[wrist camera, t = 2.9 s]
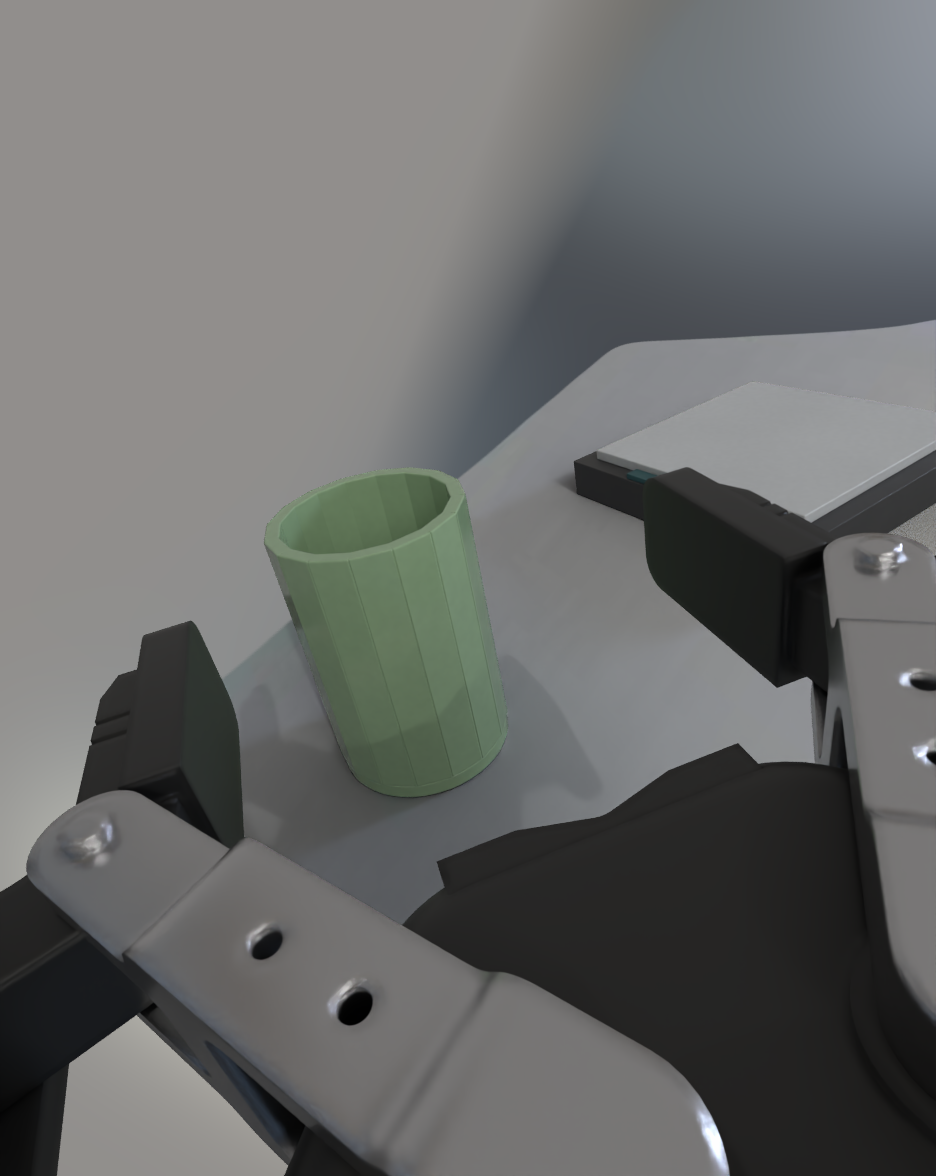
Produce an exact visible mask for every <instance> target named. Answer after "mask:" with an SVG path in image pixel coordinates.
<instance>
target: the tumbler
mask: <svg viewBox="0 0 936 1176" xmlns="http://www.w3.org/2000/svg"><path fill="white" fill-rule="evenodd" d="M264 545H265V547H266V550H267V553H268V556H269V558H270V561H271V563H272V566H273V569H274V571H275V574H276V577H277V580H278V582H279V585H280V588H281V591H282V593H283V596H284V599H285V601H286V604H287V607H288V609H289V612H290V615H291V617H292V620H293V623H294V626H295V628H296V631H297V634H298V636H299V639H300V642H301V644H302V647H303V650H304V653H305V655H306V658H307V661H308V663H309V666H310V669H311V671H312V674H313V677H314V679H315V682H316V685H317V688H318V690H319V693H320V696H321V698H322V701H323V704H324V706H325V709H326V712H327V715H328V717H329V720H330V723H331V725H332V728H333V731H334V733H335V736H336V739H337V741H338V744H339V747H340V750H341V752H342V755H343V756H344V758H345V759H346V761H347V764H348V767H349V769H350V770H351V772H352V774H353V775H354V776H355V777H356V778H357V779H358V780H359V781H360V782H361V783H362V784H364V785H365V786H366V787H368V788H370V789H372V790H374V791H377V792H379V793H382V794H386V795H390V796H397V797H420V796H428V795H433V794H437V793H441V792H444V791H447V790H450V789H452V788H455V787H457V786H459V785H461V784H463V783H465V782H467V781H468V780H470V779H472V778H473V777H475V776H476V775H478V774H479V773H480V772H481V771H483V770H484V769H485V768H486V767H487V766H488V765H489V764H490V763H491V762H492V761H493V760H494V759H495V757H496V756H497V754H498V753H499V751H500V750H501V748H502V746H503V744H504V742H505V738H506V735H507V730H508V717H507V706H506V701H505V696H504V691H503V685H502V680H501V675H500V670H499V665H498V660H497V655H496V649H495V644H494V639H493V634H492V629H491V624H490V619H489V613H488V608H487V603H486V598H485V593H484V588H483V583H482V577H481V572H480V567H479V562H478V557H477V552H476V547H475V541H474V536H473V531H472V526H471V521H470V516H469V511H468V505H467V500H466V495H465V493H464V490H463V488H462V486H461V484H460V482H459V480H458V479H456V478H454V477H452V476H449V475H447V474H445V473H443V472H441V471H438V470H429V469H419V468H397V469H386V470H377V471H372V472H367V473H363V474H359V475H355V476H350V477H346V478H343V479H339V480H337V481H335V482H332V483H329V484H327V485H325V486H322V487H319V488H317V489H314V490H311V491H310V492H307V493H306V494H304V495H302V496H301V497H299V498H298V499H296V500H294V501H293V502H291V503H289V504H288V505H286V506H284V507H283V508H282V509H281V510H280V511H279V512H278V513H277V514H276V515H275V516H274V518H273V519H272V520H271V521H270V522H269V523H268V524H267V526H266V532H265V538H264Z"/></svg>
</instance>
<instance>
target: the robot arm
mask: <svg viewBox="0 0 936 1176" xmlns="http://www.w3.org/2000/svg"><path fill="white" fill-rule="evenodd" d="M643 511H644V528H645V545H646V558H647V564H648V567H649V570H650V573H651V575H652V577H653V579H654V581H655V582H656V584H657V585H658V586H659V587H660V588H661V589H662V590H663V591H664V592H665V593H666V594H668V595H669V596H670V597H671V598H672V599H673V600H675V601H676V602H677V603H678V604H679V605H681V606H682V607H683V608H684V609H685V610H686V611H688V612H689V613H690V614H691V615H692V616H693V617H695V618H696V619H697V620H698V621H699V622H700V623H702V624H703V625H704V626H705V627H706V628H708V629H709V630H710V631H711V632H712V633H713V634H715V635H716V636H717V637H718V638H719V639H720V640H722V641H723V642H724V643H725V644H726V645H727V646H729V647H730V648H731V649H732V650H733V651H735V652H736V653H737V654H738V655H739V656H740V657H742V658H743V659H744V660H745V661H746V662H747V663H749V664H750V665H751V666H752V667H753V668H754V669H756V670H757V671H758V672H759V673H760V674H762V675H763V676H764V677H765V678H766V679H767V680H769V681H770V682H771V683H772V684H773V685H774V686H776V687H777V688H778V687H781V686H783V685H786V684H788V683H791V682H794V681H796V680H799V679H801V678H804V677H808V678H810V679H811V680H812V688H811V713H812V728H813V743H814V757H815V763H807V762H770V763H761V764H758V763H757V762H756V761H755V760H754V759H753V758H752V757H751V756H750V755H749V754H748V753H747V752H746V751H745V750H744V749H743V748H742V747H741V746H740V745H739V744H738V743H737V744H735V745H732V746H729V747H727V748H724V749H722V750H719V751H717V752H714V753H712V754H709V755H707V756H704V757H701V758H699V759H696V760H694V761H691V762H689V763H686V764H684V765H681V766H679V767H676V768H674V769H671V770H668V771H667V772H666V773H664V774H663V775H661V776H660V777H659V778H657V779H656V780H654V781H653V782H651V783H650V784H649V785H647V786H646V787H644V788H643V789H642V790H640V791H639V792H637V793H636V794H635V795H633V796H632V797H630V798H629V799H628V800H626V801H625V802H623V803H622V804H620V805H619V806H618V807H616V808H615V809H613V810H612V811H611V812H609V813H607V814H605V815H603V816H600V817H596V818H591V819H585V820H579V821H572V822H566V823H560V824H554V825H548V826H542V827H536V828H530V829H523V830H517V831H514V832H511V833H508V834H506V835H503V836H501V837H498V838H496V839H493V840H491V841H488V842H486V843H483V844H480V845H478V846H475V847H473V848H470V849H468V850H465V851H463V852H460V853H458V854H455V855H453V856H450V857H447V858H445V859H442V860H440V861H437V864H438V868H439V871H440V874H441V877H442V880H443V884H444V887H445V888H443V889H442V890H440V891H439V892H438V893H436V894H435V895H433V896H432V897H431V898H429V899H428V900H427V901H426V902H425V903H424V904H423V905H421V906H420V907H419V908H418V909H417V910H416V911H415V912H414V913H413V914H412V915H411V916H410V917H409V918H408V919H407V920H406V921H405V922H404V924H403V925H400V924H399V923H397V922H395V921H394V920H392V919H390V918H388V917H387V916H385V915H383V914H382V913H380V912H378V911H377V910H375V909H373V908H371V907H370V906H368V905H366V904H365V903H363V902H361V901H359V900H358V899H356V898H354V897H353V896H351V895H349V894H348V893H346V892H344V891H342V890H341V889H339V888H337V887H336V886H334V885H332V884H330V883H329V882H327V881H325V880H324V879H322V878H320V877H318V876H317V875H315V874H313V873H312V872H310V871H308V870H307V869H305V868H303V867H301V866H300V865H298V864H296V863H295V862H293V861H291V860H289V859H288V858H286V857H284V856H283V855H281V854H279V853H278V852H276V851H274V850H272V849H271V848H269V847H267V846H266V845H264V844H262V843H260V842H259V841H257V840H255V839H252V838H249V837H244V830H243V809H242V788H241V767H240V746H239V729H238V723H237V719H236V715H235V711H234V708H233V705H232V702H231V699H230V697H229V694H228V692H227V690H226V688H225V686H224V684H223V681H222V679H221V677H220V675H219V673H218V671H217V668H216V666H215V664H214V662H213V660H212V658H211V655H210V653H209V651H208V649H207V647H206V645H205V643H204V641H203V638H202V636H201V634H200V632H199V630H198V628H197V627H196V625H195V624H194V623H193V622H192V621H188V622H185V623H181V624H178V625H175V626H172V627H169V628H165V629H162V630H159V631H156V632H153V633H150V634H146V635H144V636H143V638H142V644H141V649H140V656H139V662H138V668H137V670H134V671H131V672H127V673H125V674H121V675H118V677H117V678H116V679H115V681H114V682H113V684H112V685H111V686H110V687H109V689H108V690H107V691H106V693H105V694H104V695H103V696H102V698H101V699H100V703H99V707H98V711H97V716H96V720H95V723H96V726H95V727H94V729H93V733H92V738H91V743H92V745H91V746H89V751H88V755H87V759H86V764H85V768H84V773H83V777H82V781H81V785H80V789H79V794H78V798H77V802H76V806H74V807H72V808H71V809H69V810H68V811H66V812H65V813H63V814H62V815H61V816H60V817H58V818H57V819H56V820H55V821H54V822H53V823H51V824H50V826H48V827H47V828H46V830H45V831H44V832H43V833H42V834H41V835H40V837H39V838H38V839H37V841H36V842H35V844H34V846H33V847H32V849H31V851H30V854H29V856H28V860H27V868H26V869H27V875H26V876H25V877H23V878H22V879H21V880H19V881H17V882H16V883H14V884H13V885H12V886H10V887H8V888H6V889H5V890H3V891H1V892H0V1176H57V1168H58V1159H59V1150H60V1141H61V1132H62V1123H63V1114H64V1104H65V1096H66V1087H67V1077H68V1068H69V1063H70V1062H72V1061H73V1060H75V1059H76V1058H77V1057H79V1056H80V1055H81V1054H83V1053H84V1052H86V1051H87V1050H88V1049H90V1048H91V1047H92V1046H94V1045H95V1044H97V1043H98V1042H99V1041H101V1040H102V1039H104V1038H105V1037H106V1036H108V1035H109V1034H111V1033H112V1032H113V1031H115V1030H116V1029H117V1028H119V1027H120V1026H122V1025H123V1024H125V1023H126V1022H127V1021H129V1020H130V1019H131V1018H133V1017H134V1016H135V1015H137V1016H138V1017H139V1018H140V1019H141V1020H142V1021H143V1022H144V1023H145V1024H146V1025H148V1026H149V1027H150V1028H151V1029H152V1030H153V1031H154V1032H155V1033H156V1034H157V1035H158V1036H159V1037H160V1038H161V1039H162V1040H163V1041H164V1042H165V1043H167V1044H168V1045H169V1046H170V1047H171V1048H172V1049H173V1050H174V1051H175V1052H176V1053H177V1054H178V1055H179V1056H180V1057H181V1058H182V1059H183V1060H184V1061H185V1062H187V1063H188V1064H189V1065H190V1066H191V1067H192V1068H193V1069H194V1070H195V1071H196V1072H197V1073H198V1074H199V1075H200V1076H201V1077H203V1078H204V1079H205V1080H206V1081H207V1082H208V1083H209V1084H210V1085H211V1086H212V1087H213V1088H214V1089H215V1090H216V1091H217V1092H218V1093H219V1094H220V1095H221V1096H222V1097H223V1098H224V1099H225V1100H226V1101H227V1102H228V1103H229V1104H230V1105H231V1106H232V1107H233V1108H234V1109H235V1110H236V1111H237V1112H238V1113H239V1115H240V1116H241V1117H242V1118H243V1119H244V1120H245V1121H246V1123H247V1124H248V1125H249V1126H250V1127H251V1128H252V1129H253V1130H254V1131H255V1133H256V1134H257V1135H258V1136H259V1137H260V1138H261V1139H262V1140H263V1141H264V1142H265V1143H266V1144H267V1145H268V1146H269V1147H270V1148H271V1149H272V1150H273V1151H274V1152H275V1153H276V1154H277V1155H278V1156H279V1157H280V1158H281V1159H282V1160H283V1161H284V1162H285V1163H286V1164H287V1165H288V1168H287V1170H286V1173H285V1175H284V1176H936V556H934V555H933V553H932V552H931V551H930V550H929V549H928V548H927V547H926V546H924V545H923V544H921V543H919V542H917V541H914V540H912V539H909V538H906V537H902V536H898V535H893V534H885V533H859V534H852V535H848V536H844V537H841V538H839V537H837V536H836V535H834V534H832V533H830V532H828V531H826V530H824V529H822V528H820V527H818V526H817V525H815V524H813V523H811V522H809V521H807V520H805V519H803V518H801V517H799V516H798V515H796V514H794V513H788V511H787V510H786V509H784V508H782V507H780V506H779V505H777V504H775V503H774V504H771V503H770V501H769V500H767V499H765V498H763V497H762V496H760V495H758V494H756V493H754V492H752V491H750V490H747V489H742V488H738V487H733V486H729V485H725V484H719V483H717V482H716V481H714V480H712V479H710V478H708V477H706V476H705V475H703V474H701V473H699V472H697V471H695V470H694V469H692V468H689V467H684V468H681V469H678V470H675V471H671V472H668V473H665V474H662V475H659V476H655V477H652V478H649V479H647V480H646V481H645V483H644V486H643Z"/></svg>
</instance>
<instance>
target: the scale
mask: <svg viewBox="0 0 936 1176" xmlns="http://www.w3.org/2000/svg"><path fill="white" fill-rule="evenodd" d="M684 467H689V468H692V469H694V470H695V471H697V472H699V473H701V474H703V475H705V476H706V477H708V478H710V479H712V480H714V481H716V482H717V483H719V484H725V485H729V486H733V487H738V488H742V489H747V490H750V491H752V492H754V493H756V494H758V495H760V496H762V497H763V498H765V499H767V500H769V501H770V503H771V504H774V503H775V504H777V505H779V506H780V507H782V508H784V509H786V510H787V511H788V513H794V514H796V515H798V516H799V517H801V518H803V519H805V520H807V521H809V522H811V523H813V524H815V525H817V526H818V527H820V528H822V529H824V530H826V531H828V532H830V533H832V534H834V535H836V536H837V537H839V538H841V537H844V536H848V535H852V534H859V533H885V534H887V533H888V532H890V531H892V530H893V529H895V528H896V527H898V526H900V525H901V524H903V523H904V522H906V521H907V520H909V519H911V518H912V517H914V516H915V515H917V514H918V513H920V512H922V511H923V510H925V509H926V508H928V507H930V506H931V505H933V504H934V503H936V411H932V410H926V409H920V408H914V407H908V406H902V405H896V404H890V403H884V402H878V401H872V400H865V399H859V398H853V397H847V396H841V395H835V394H829V393H823V392H817V391H811V390H805V389H799V388H792V387H786V386H780V385H774V384H768V383H762V382H756V381H752V382H749V383H747V384H745V385H743V386H740V387H738V388H736V389H734V390H731V391H729V392H727V393H725V394H722V395H720V396H718V397H716V398H713V399H711V400H709V401H707V402H704V403H702V404H700V405H697V406H695V407H693V408H691V409H688V410H686V411H684V412H682V413H679V414H677V415H675V416H673V417H670V418H668V419H666V420H664V421H661V422H659V423H657V424H655V425H652V426H650V427H648V428H646V429H643V430H641V431H639V432H636V433H634V434H632V435H630V436H627V437H625V438H623V439H621V440H618V441H616V442H614V443H612V444H609V445H607V446H605V447H603V448H600V449H598V450H597V451H596V452H594V453H591V454H589V455H587V456H585V457H582V458H580V459H578V460H576V461H574V468H575V478H576V487H577V494H580V495H582V496H585V497H587V498H590V499H592V500H595V501H597V502H600V503H602V504H605V505H607V506H610V507H612V508H615V509H617V510H620V511H622V512H625V513H627V514H630V515H632V516H635V517H637V518H640V519H642V520H644V511H643V486H644V483H645V481H646V480H647V479H649V478H652V477H655V476H659V475H662V474H665V473H668V472H671V471H675V470H678V469H681V468H684Z"/></svg>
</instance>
